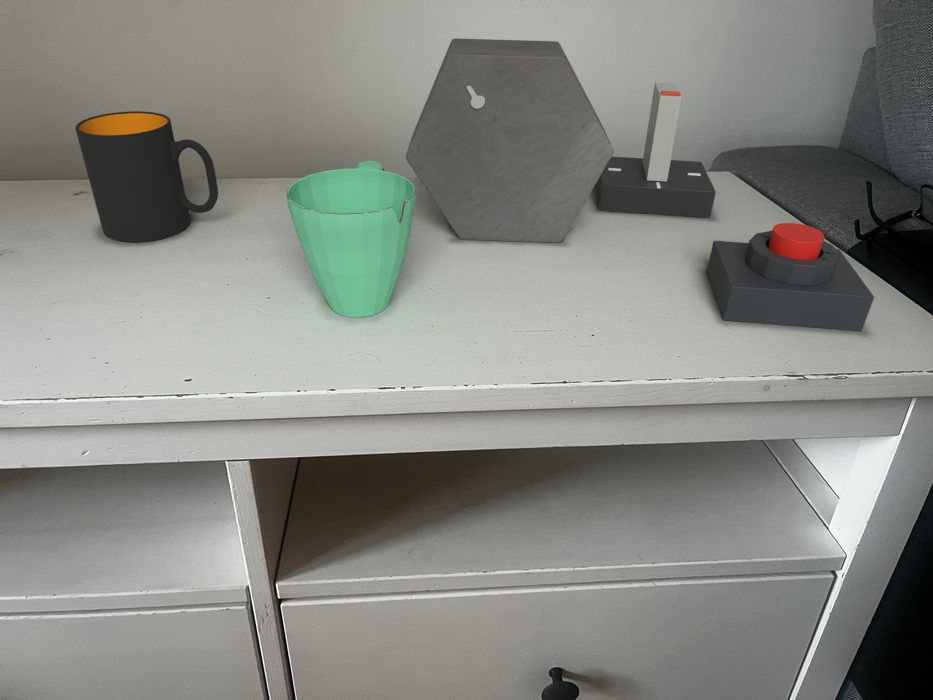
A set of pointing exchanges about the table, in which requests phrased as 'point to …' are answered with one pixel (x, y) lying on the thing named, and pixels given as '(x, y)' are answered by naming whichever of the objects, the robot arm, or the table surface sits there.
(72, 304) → the table surface
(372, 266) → the mug
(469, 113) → the grey hexagonal block
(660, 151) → the upright gray panel
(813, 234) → the button
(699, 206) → the lever base
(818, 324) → the button block
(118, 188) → the mug
